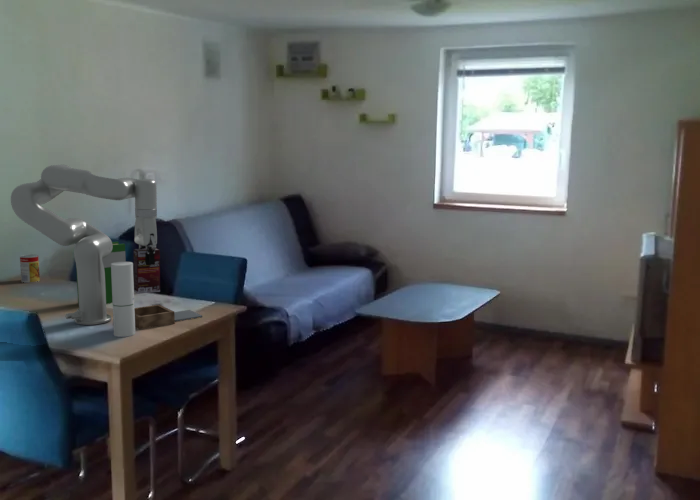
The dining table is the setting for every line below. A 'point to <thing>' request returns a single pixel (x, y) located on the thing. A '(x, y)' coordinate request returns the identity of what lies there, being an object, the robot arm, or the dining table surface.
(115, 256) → the hardback book
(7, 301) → the dining table surface
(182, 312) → the mat
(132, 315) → the cylindrical container
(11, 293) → the dining table surface
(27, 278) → the canned food
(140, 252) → the supplement box
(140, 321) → the pocket frame
